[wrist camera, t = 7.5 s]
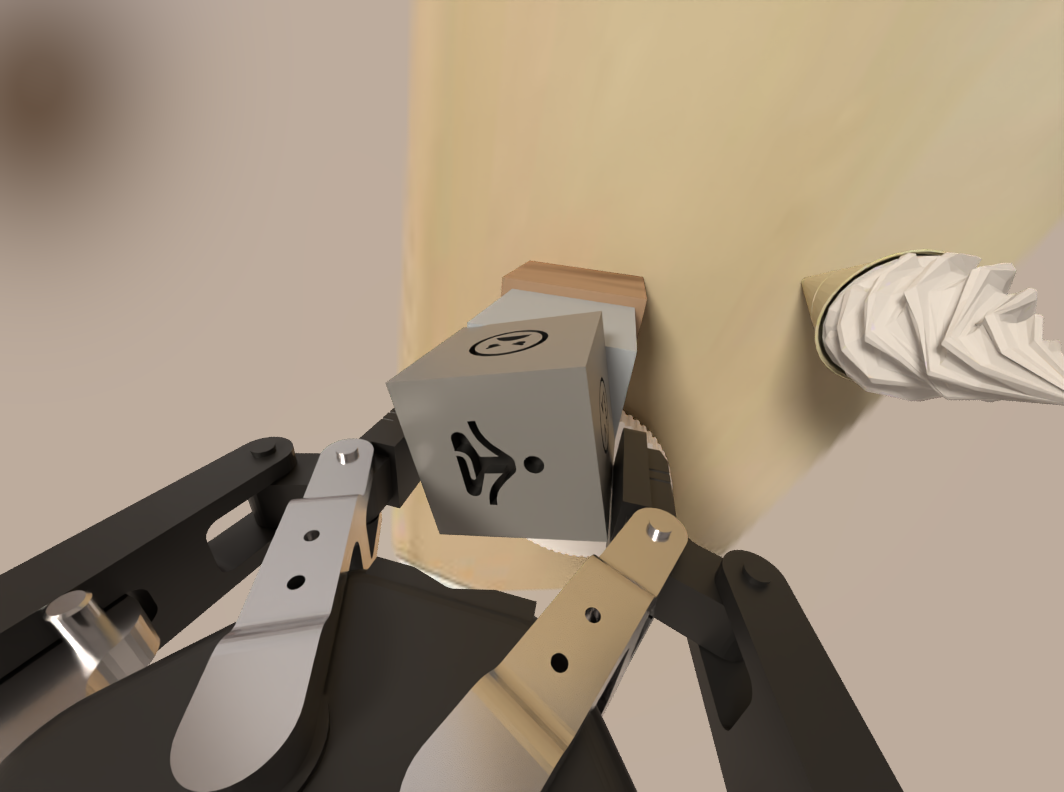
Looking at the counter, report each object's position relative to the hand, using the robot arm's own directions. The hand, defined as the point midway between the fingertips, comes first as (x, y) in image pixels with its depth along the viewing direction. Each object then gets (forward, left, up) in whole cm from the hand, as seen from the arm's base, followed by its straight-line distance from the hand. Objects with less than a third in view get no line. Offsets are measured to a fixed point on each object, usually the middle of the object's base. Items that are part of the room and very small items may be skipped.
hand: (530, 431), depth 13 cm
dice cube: (-1, 0, -2) cm, 2 cm away
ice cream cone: (-4, +12, -14) cm, 19 cm away
